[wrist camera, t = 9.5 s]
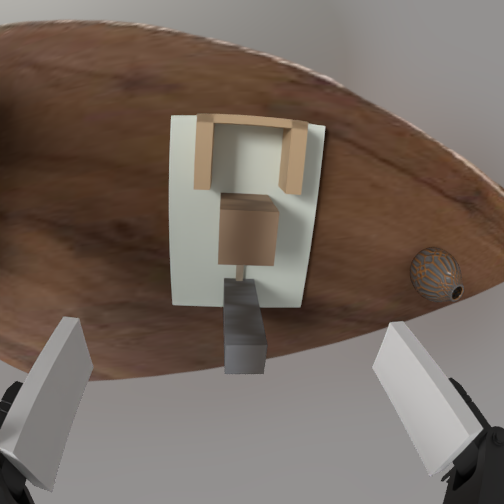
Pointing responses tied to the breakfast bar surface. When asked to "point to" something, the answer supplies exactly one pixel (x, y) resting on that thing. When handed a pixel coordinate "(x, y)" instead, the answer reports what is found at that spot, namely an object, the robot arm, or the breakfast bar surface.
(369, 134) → the breakfast bar surface
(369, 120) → the breakfast bar surface
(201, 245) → the white board with bracket
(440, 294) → the vase
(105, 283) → the breakfast bar surface
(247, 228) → the tether block
